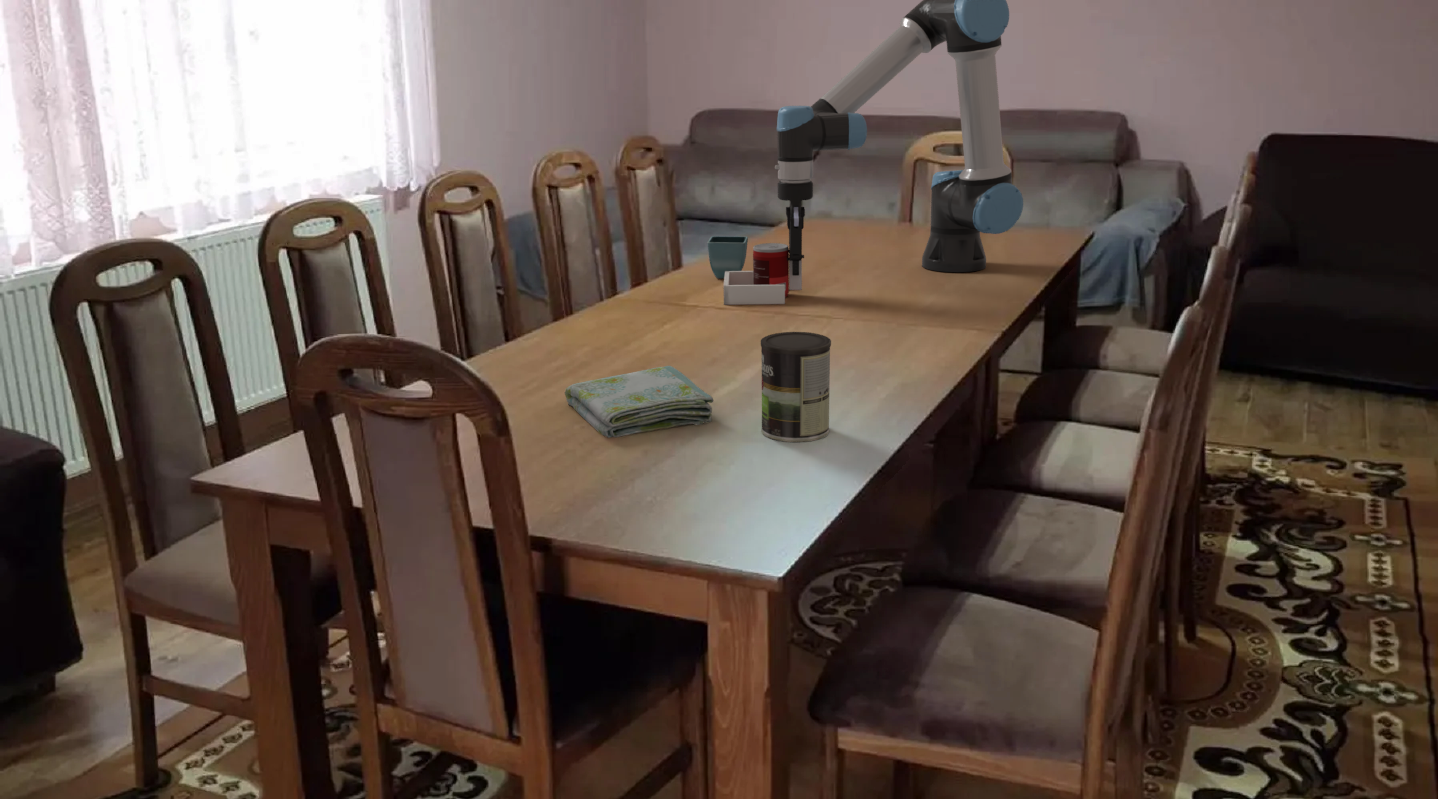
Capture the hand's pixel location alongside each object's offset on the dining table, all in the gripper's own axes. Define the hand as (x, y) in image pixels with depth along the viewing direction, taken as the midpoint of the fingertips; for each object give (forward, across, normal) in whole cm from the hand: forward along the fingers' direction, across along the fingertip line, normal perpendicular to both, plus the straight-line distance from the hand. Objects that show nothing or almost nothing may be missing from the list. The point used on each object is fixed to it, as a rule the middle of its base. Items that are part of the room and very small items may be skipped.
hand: (795, 289), depth 279 cm
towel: (+2, +83, -27) cm, 87 cm away
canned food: (+2, 0, -5) cm, 6 cm away
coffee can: (+2, +93, -3) cm, 93 cm away
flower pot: (+2, -21, -15) cm, 26 cm away
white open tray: (+2, 0, -9) cm, 9 cm away
